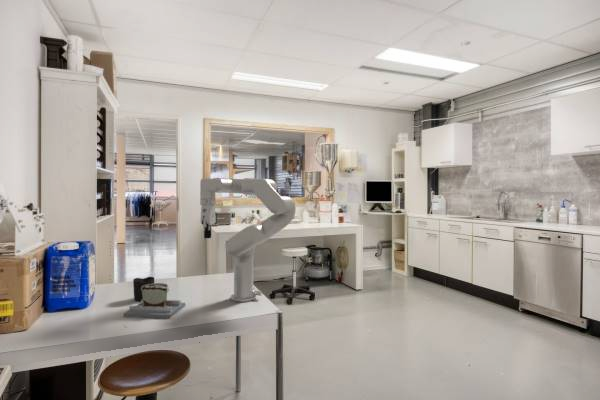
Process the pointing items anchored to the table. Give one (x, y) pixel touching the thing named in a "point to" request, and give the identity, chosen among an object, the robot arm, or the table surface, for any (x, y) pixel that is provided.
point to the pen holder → (138, 284)
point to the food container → (155, 294)
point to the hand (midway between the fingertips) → (207, 237)
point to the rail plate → (155, 310)
